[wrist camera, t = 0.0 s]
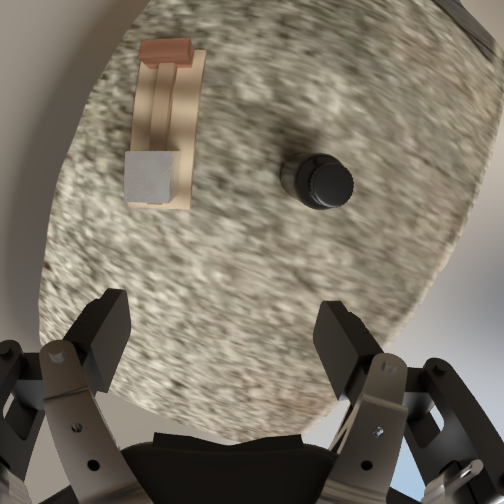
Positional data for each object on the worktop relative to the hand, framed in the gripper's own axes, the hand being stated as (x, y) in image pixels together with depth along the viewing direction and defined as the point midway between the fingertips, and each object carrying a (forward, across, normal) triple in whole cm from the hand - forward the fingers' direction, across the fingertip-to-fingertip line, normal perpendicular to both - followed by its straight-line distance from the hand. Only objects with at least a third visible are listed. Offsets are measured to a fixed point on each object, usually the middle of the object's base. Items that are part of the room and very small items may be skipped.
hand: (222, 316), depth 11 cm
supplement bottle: (+30, -11, -4) cm, 32 cm away
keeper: (+27, +9, -3) cm, 29 cm away
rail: (+29, +9, -10) cm, 32 cm away
